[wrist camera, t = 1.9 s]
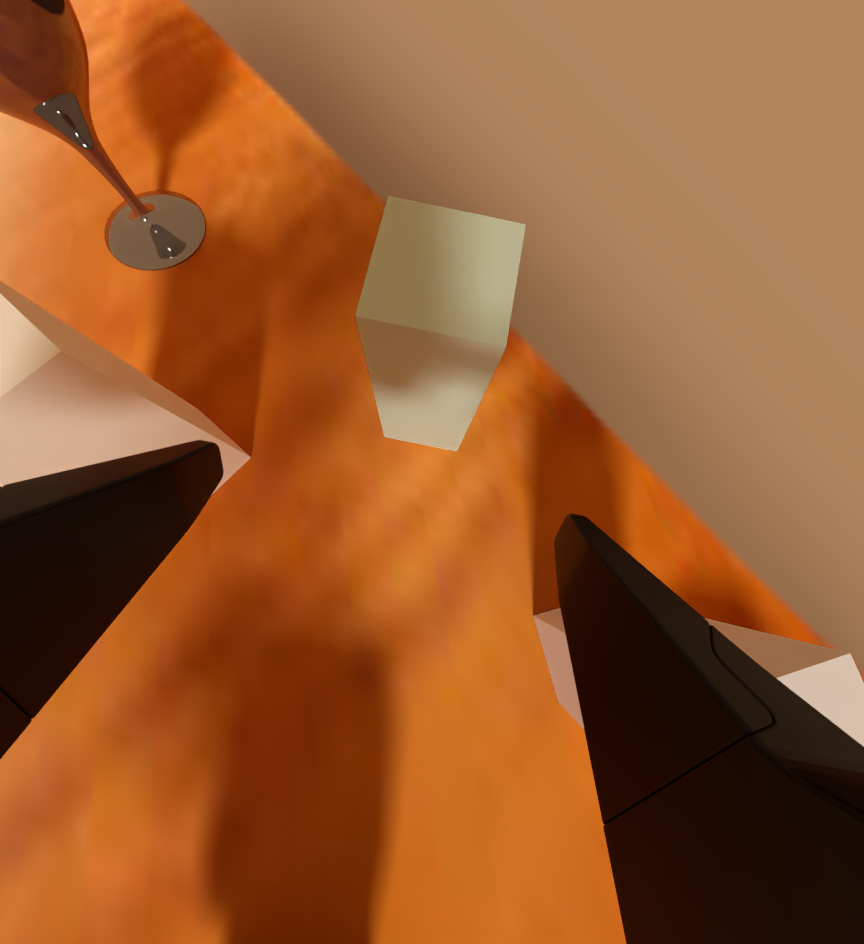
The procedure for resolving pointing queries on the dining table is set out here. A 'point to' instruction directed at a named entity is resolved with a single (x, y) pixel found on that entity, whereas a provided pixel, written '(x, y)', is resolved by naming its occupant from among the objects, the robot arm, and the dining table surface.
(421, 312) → the sage block
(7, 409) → the cream block
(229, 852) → the dining table surface
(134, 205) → the wine glass
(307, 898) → the dining table surface
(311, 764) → the dining table surface
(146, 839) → the dining table surface
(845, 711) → the pale pink tall block
